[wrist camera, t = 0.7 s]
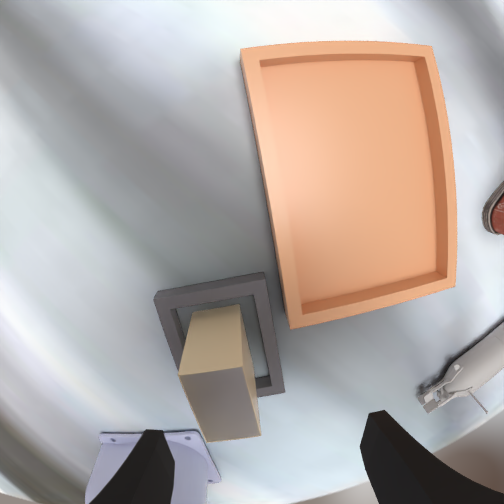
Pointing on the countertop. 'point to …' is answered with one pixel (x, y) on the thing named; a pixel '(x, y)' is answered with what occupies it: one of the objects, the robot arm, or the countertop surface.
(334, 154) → the parts tray
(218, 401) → the tan rectangular block
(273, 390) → the socket
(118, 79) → the countertop surface
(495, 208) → the lighter
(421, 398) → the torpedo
